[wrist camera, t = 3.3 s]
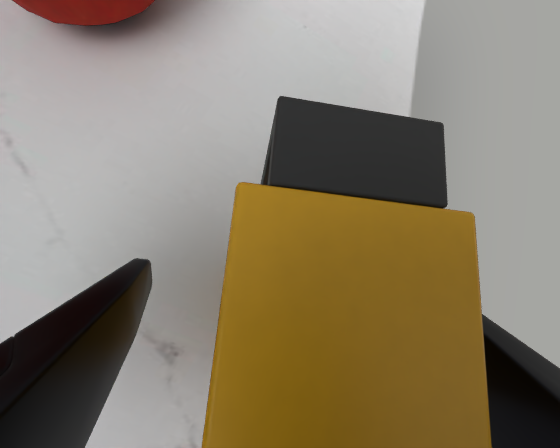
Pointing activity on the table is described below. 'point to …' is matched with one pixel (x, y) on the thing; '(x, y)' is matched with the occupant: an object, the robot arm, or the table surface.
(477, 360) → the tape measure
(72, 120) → the table surface
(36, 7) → the apple
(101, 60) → the table surface
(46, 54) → the table surface
